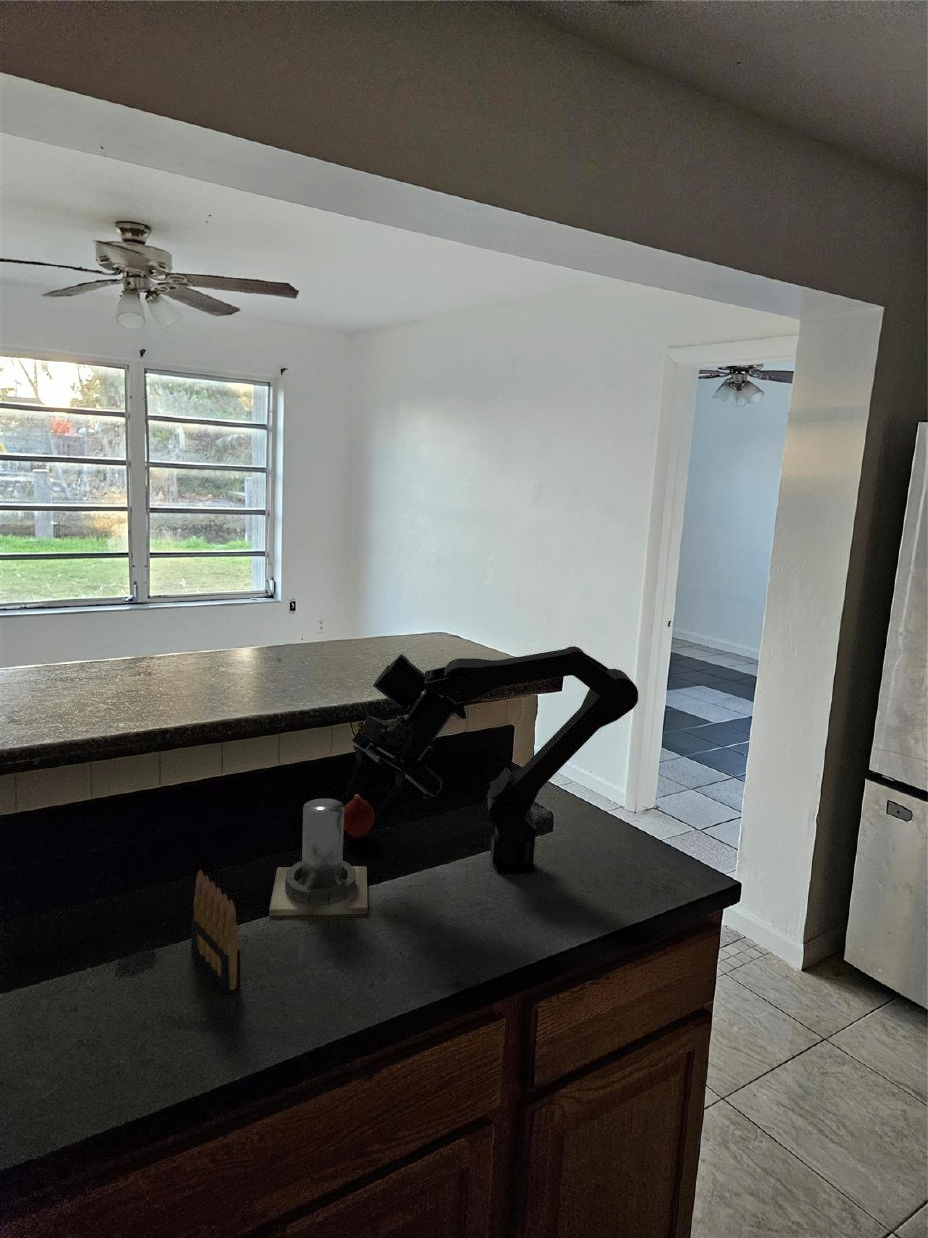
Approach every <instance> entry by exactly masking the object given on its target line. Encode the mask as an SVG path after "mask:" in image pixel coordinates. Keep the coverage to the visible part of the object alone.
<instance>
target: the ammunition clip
mask: <svg viewBox="0 0 928 1238" xmlns="http://www.w3.org/2000/svg"><path fill="white" fill-rule="evenodd" d="M237 927H238V926H237V915H236V906H235V903H234V901H233V899H230V900H229V899H228V896H227V893H222V890H221V888H220V887H216V884H215V882H214V881H211V882H210V879H209V877H208V875H204V872H203V871H202V869H199V870H198V872H197V875H196V880H195V892H194V900H193V917H192V918H191V933H190V934H191V936H190V937H191V940H190V941H191V942H190V944H191V945H190V953H191V955H192V956H193V957H194V958H195V960H197V961H198V963H199V964H200V965H201V966H202V967H203V969H204V970H205V971H206V973H207V974H208V975H209V976H210V977H211V978H212V979H213V981H214V982H215V983H216V984H217V985H218V986H219V988H220V989H221V990H222V991H223V992H224V994H226V995H228V994H230V993H233V992H235V991H238V990H240V989H241V950H239V944H238V942H239V941H238V940H239V939H238V938H239V937H238V936H239V934H238V933H239V932H238V928H237Z"/></svg>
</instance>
